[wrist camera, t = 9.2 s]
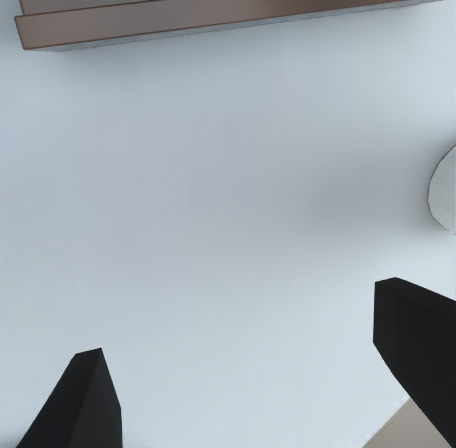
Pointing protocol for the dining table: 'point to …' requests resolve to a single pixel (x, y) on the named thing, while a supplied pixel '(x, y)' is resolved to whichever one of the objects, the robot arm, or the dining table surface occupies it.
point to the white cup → (444, 192)
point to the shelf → (164, 18)
